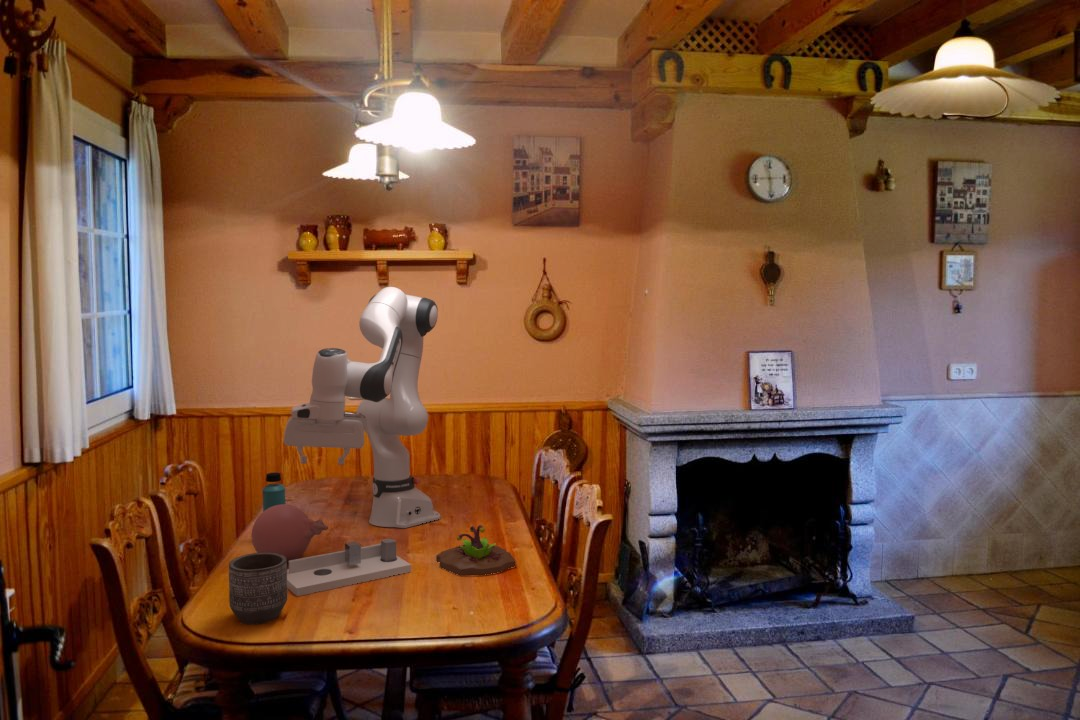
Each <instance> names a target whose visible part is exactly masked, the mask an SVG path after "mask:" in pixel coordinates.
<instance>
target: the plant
mask: <svg viewBox="0 0 1080 720" xmlns="http://www.w3.org/2000/svg"><path fill="white" fill-rule="evenodd" d="M469 531H470V532H471V533H473V536H474V537H473V536H472V535H470V534H469V533H468V534H467V533H461V534H459V535H457V536H456V541H461V540H462V544H461V545H460V544H459V545H458V546H457V545H456V546H455V547H452V548H448V549H445V550H442V551H440V552H439V553H438V554H436V559H435V561H437V562H436V563H438V562H440V563H439V568H440V567H441V568H440V569H442V568H444V569H446V570H448V571H447V572H449V571H451V572H453V573H455V574H454V575H456V574H458V575H485V574H486V576H488V575H487V574H491V573H492V575H494V574H493V573H497V572H501V571H503V570H505V569H508V568H511V567H514V566H516V560H515V558H514V556H513V555H512V553H511V552H510V551H507V549H505V548H502V547H501V546H499V545H497V543H491V544H489V541H490V540H489V539H487V538H486V537H483V538H481V537H480V533H482V534H483V533H485V531H486V529H485V527H484V526H483V525H481V524H479V525H478V526H477V529H476V527H475V526H474V525H472V526H471V527H469ZM463 537H467V538H468V539H465V538H463ZM469 539H470V540H469ZM444 569H443V570H444ZM446 570H445V571H446ZM505 571H506V570H505ZM451 572H450V573H451ZM503 572H504V571H503ZM453 573H452V574H453ZM458 575H457V576H458Z"/></svg>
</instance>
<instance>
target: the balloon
mask: <svg viewBox="0 0 1080 720" xmlns="http://www.w3.org/2000/svg"><path fill="white" fill-rule="evenodd" d="M328 529H329V526H328V525H326V524H325V523H324V522H323V520H322V519H318V520H316V521H314V520H312V519H311V518H309V517H308V515H307V514H306V513H305V512H304V511H303V510H302V509H300V508H299V507H298V506H295V505H291V504H280V505H275V506H272V507H270V508H268V509H266V510H265V511H264V512H263V511H262V512H261V513H260V514H259V515H258V517H257V518H256V519H255V521H254V523H253V526H252V529H251V542H252V545H253V548H254V549H255V552H256V553H277V554H281V555H283V556H285V557H286V560H287V563H289V560H295V559H299V558H300V557H301V556H302V555H304V554H305V552H306V551H307V549H308V548H309V547H310V544H311V542H312V539H313V537H314V536H316V535H317V536H318V535H319V536H320V535H321V534H322V532H323V531H327V530H328Z"/></svg>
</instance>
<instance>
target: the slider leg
mask: <svg viewBox="0 0 1080 720" xmlns="http://www.w3.org/2000/svg"><path fill="white" fill-rule="evenodd" d="M361 547H362V546H361V543H360V542H358V541H357V540H355V541H348V542H344V550H345V562H346V563H347V564H348V565H354V564H359V563H361Z"/></svg>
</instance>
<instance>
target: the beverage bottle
mask: <svg viewBox="0 0 1080 720" xmlns="http://www.w3.org/2000/svg"><path fill="white" fill-rule="evenodd" d="M281 475H282V474H281V473H280V472H274V471H273V472H269V473H266V476H265V482H268V484H266V485H265V486H264V487H263V488H262V512H264V511H265V510H266V509H268V508H270V507H272V506H275V505H280V504H286V503H287V502H286V501H287V500H286V487H285V486H284V485H283V484H282V483H278V482H281V480H282V476H281Z"/></svg>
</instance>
